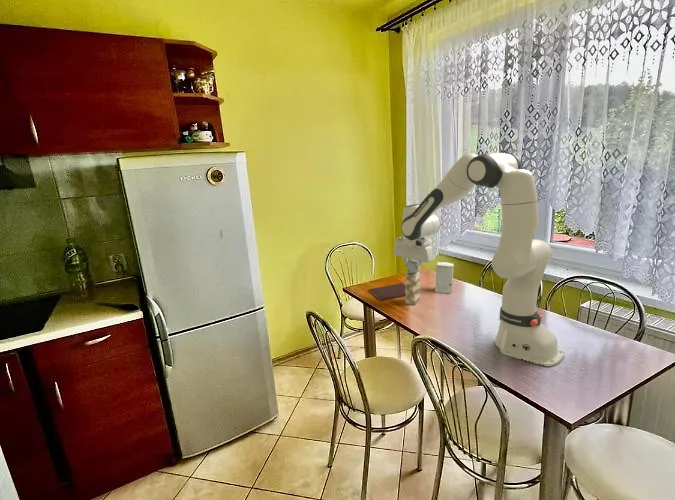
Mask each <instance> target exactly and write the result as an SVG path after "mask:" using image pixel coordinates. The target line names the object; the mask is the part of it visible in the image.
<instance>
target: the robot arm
mask: <svg viewBox="0 0 675 500" xmlns="http://www.w3.org/2000/svg"><path fill="white" fill-rule="evenodd" d="M436 185H437V186H435V187H434V189H433V190H431V192H430V193H428V194H427V195H426V196H425V198H424V199H423V200H422V201H421V202H420V204H419V203H415V204H411V205H410V204H409V205H406V206H405V207H404V208H403V210H402V211H403V212H402V222H401V226H400V231H401V233H402V237H400V236H397V237H396V238H394V239H395V240H394V247H393V248H394V249H393V253H394V256H396V257H400V258H402V260H403V262H404V267H407V261H408V259H409V260H417V261H418V265H416V269H418V271H419V270H421V268H422V267H421V266H422V264H423V263H431V262H432V261H433V259H434V254H433V253H434V252H433V251H434V250H433V246H432V244H433V241H432V239H431V238H428V236H432V235H435V234H437V233H438V232H439V231H440V229H441V219H440V218H439V216H438V215H437V214H436V213H435V212H436V211H437V210H439V209H441V208H443V207H444V206H447V205H450V204H453V203H456V202H458V201H460V200H462V199H463V198H464V197H466V196H467V195H469V193H470V192H471V190H472V189H473V188H474V186H475V185H476V186H481V187H484V188H488V189H489V188H490V189H494V188H495V187H496V188H497V189H498V190H499V192H500V201H501V202H500V203H501V221H502V223H501V224H502V225H501V227H502V228H501V234H500V239H499V243H498V247H497V250H496V252H495V253H494V255H493V256H492V259H491V268H492V270H493V272H494V273H495V274H496V275H497V276H498V277H500V278H502V279H507V281H506V282H505V283H504V285H503V287H502V294H501V295H502V296H501V297H502V299H501V306H500V309H499V327H498V330H497V333H496V334H497V335H496V337H495V339H494V344H495V346H496V347H497V348H498V349H499V351H500V354H501V355H504V356H507V357H509V358H510V357H511V358H514V359H518V360H521V359H523V360H522V361H525V360H526V361H525V362H529V361H530V362H529V363H532V362H533V364H535V365H539V364H540V366H543V365H544V367H554V366H556V365H558V364H560V363H561V362H562V360H563V359H564V357H565V351H564V349H563V348H562V347H560V346H558V340H557V336H556V335H555V334H554V333H553V332H552V331H550V330H549V328H547V327H546V326H545V325H544V324H543V323H542V318H543V314H542V313H541V314H540V315H539V313H538V312H537V301H538V295H539V294H538V292H539V290H540V289H539V288H540V286H541V282H542V279H543V276H544V273H545V270H546V268H547V266H548V264H549V262H550V261H551V259H552V256H553V251H552V248H551V246H550V245H549V244H548V243H547V242H546V241H544V240H542V239H534V236H535V232H536V231H537V229H538V226H539V224H540V222H539V221H540V220H539V204H538V192H537V191H538V190H537V186H536V180H535V178H534V175H533V173H532V172H531V171H530V170H529V169H528V170H527V169H524V168H523V163H522V160H521V158H520V157H519V156H518V155H516V154H515V153H512V152H487V153H483V154H481V153H480V154H479V155H478V154H477V153H473V152H468V153H465V154H463V155H462V156H461V157H459V159H458V160H456V162H455V163H454V164H453V165H452V167H451V168H450V169H449V170H448V172H447V173H446V174H445V176H444V177H443V178H442V180H441V181H440V182H439V183H438V184H436Z"/></svg>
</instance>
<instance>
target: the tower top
mask: <svg viewBox="0 0 675 500" xmlns="http://www.w3.org/2000/svg"><path fill="white" fill-rule="evenodd" d="M420 274H421V273H420V272H419V271H418V272H417V273H409V272H406V273H405V283H406V284H409V285H415V286H416V285H417V284H418V283H421V282H420V280H421V279H420V277H421V275H420Z"/></svg>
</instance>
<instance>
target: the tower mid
mask: <svg viewBox="0 0 675 500" xmlns="http://www.w3.org/2000/svg"><path fill="white" fill-rule="evenodd" d="M404 285H405V293H407V294H410V295H416V294H419V293H420V294H421V282H419V283H418V284H417V285H416V286H415V285H409V284H406V282H404Z"/></svg>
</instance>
